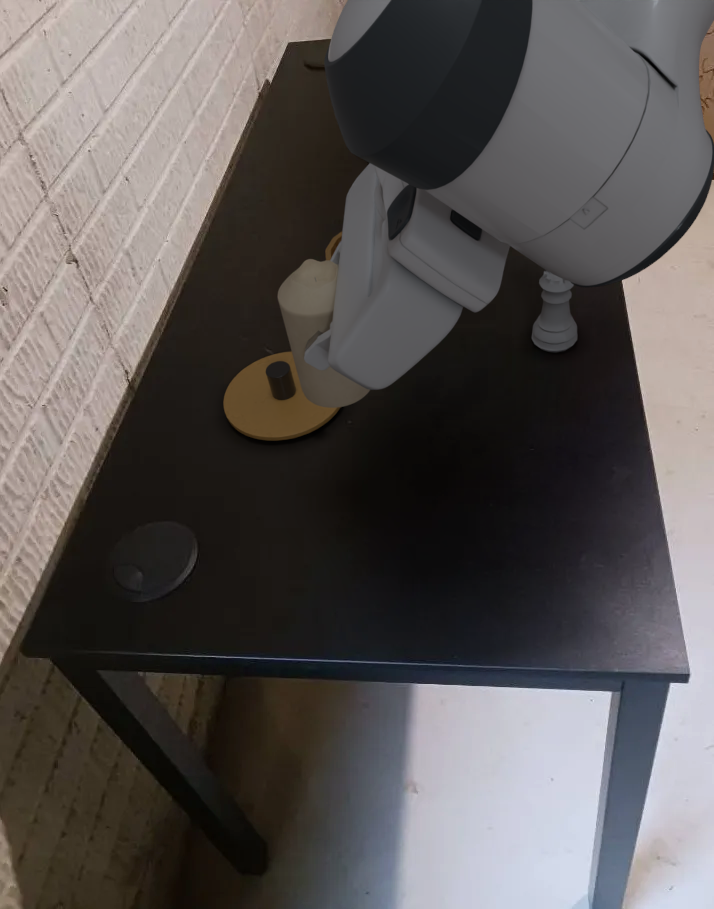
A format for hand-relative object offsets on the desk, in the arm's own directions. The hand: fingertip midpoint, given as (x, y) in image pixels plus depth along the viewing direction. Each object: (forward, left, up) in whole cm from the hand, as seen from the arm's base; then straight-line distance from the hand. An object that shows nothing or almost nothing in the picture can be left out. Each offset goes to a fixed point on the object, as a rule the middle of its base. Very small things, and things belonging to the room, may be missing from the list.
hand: (317, 327), depth 57 cm
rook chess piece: (-21, -17, -19) cm, 33 cm away
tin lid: (+6, -14, -18) cm, 24 cm away
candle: (-1, 0, -6) cm, 6 cm away
